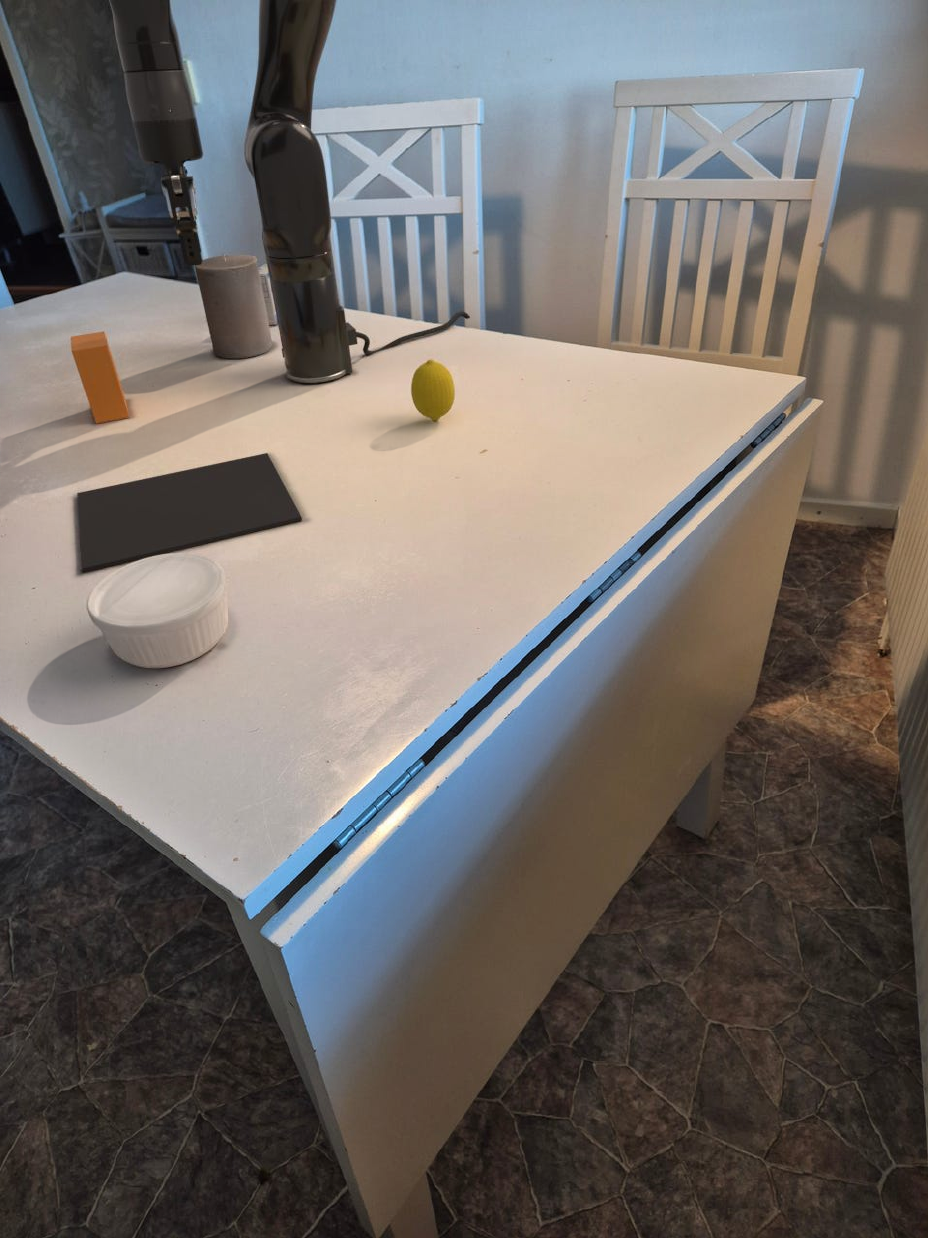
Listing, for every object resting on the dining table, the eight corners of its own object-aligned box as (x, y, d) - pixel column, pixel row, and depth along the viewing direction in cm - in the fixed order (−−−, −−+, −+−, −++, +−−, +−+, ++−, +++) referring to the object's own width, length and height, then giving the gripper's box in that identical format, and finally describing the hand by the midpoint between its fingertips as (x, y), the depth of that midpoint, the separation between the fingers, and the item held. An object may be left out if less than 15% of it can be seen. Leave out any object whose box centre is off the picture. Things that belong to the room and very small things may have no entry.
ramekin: (113, 611, 74) (95, 562, 70) (238, 591, 75) (225, 542, 72) (97, 690, 65) (75, 638, 62) (239, 664, 66) (224, 612, 63)
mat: (268, 456, 99) (267, 452, 99) (302, 520, 86) (301, 516, 85) (78, 496, 93) (77, 492, 93) (83, 572, 79) (81, 568, 79)
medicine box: (276, 325, 144) (266, 274, 139) (253, 325, 145) (242, 274, 140) (292, 312, 150) (284, 262, 145) (270, 312, 151) (261, 263, 146)
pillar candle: (203, 351, 134) (180, 254, 125) (255, 336, 139) (236, 242, 131) (232, 363, 128) (210, 262, 119) (285, 347, 133) (267, 250, 125)
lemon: (463, 415, 106) (459, 354, 102) (445, 431, 102) (440, 369, 98) (426, 410, 108) (420, 350, 104) (406, 426, 104) (400, 364, 100)
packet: (126, 401, 117) (104, 330, 111) (129, 417, 112) (106, 344, 106) (94, 406, 116) (70, 336, 110) (96, 423, 111) (71, 350, 105)
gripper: (196, 115, 94) (224, 266, 103) (195, 113, 105) (220, 248, 114) (128, 119, 92) (163, 272, 101) (134, 116, 103) (165, 253, 112)
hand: (193, 259), depth 108 cm, fingers open, 8 cm apart
